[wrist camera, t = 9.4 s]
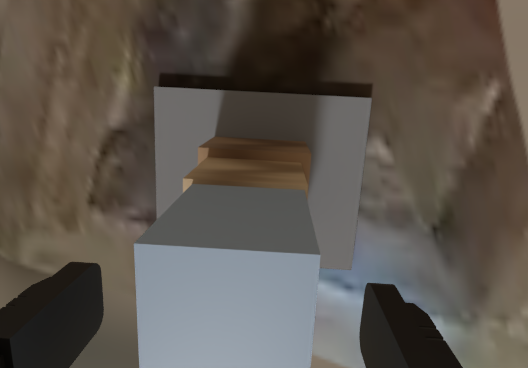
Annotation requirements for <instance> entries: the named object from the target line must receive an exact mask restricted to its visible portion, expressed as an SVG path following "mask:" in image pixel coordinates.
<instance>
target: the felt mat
mask: <svg viewBox="0 0 528 368" xmlns="http://www.w3.org/2000/svg"><path fill="white" fill-rule="evenodd" d="M371 101H372V98H362V97H343V96H324V95H305V94H286V93H267V92H248V91H228V90H209V89H190V88H171V87H154V113H155V158H156V203H157V219H158V218H159V217H160V216H161V215H162V214H163V213H164V212H165V211H166V210H167V209H168V208H169V207H170V206H171V205H172V204H173V203H174V202H175V201H176V200H177V199H178V198H179V197H180V196H181V195H182V194H183V178H184V177H185V176H186V175H187V174H189V173H190V172H191V171H192V170H193V169H194V168H195V167H197V166H198V147H199V146H201V145H202V144H204V143H205V142H207V141H208V140H210V139H211V138H213V137H214V136H215V137H233V138H251V139H269V140H286V141H304V142H306V144H307V146H308V148H309V150H310V152H311V164H310V176H309V188H308V200H307V202H308V206H309V210H310V214H311V218H312V222H313V226H314V230H315V234H316V238H317V242H318V246H319V251H320V255H321V256H320V267H319V268H327V269H342V270H351V268H352V260H353V251H354V243H355V235H356V226H357V218H358V210H359V201H360V193H361V184H362V176H363V168H364V159H365V151H366V143H367V134H368V126H369V118H370V109H371Z"/></svg>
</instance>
